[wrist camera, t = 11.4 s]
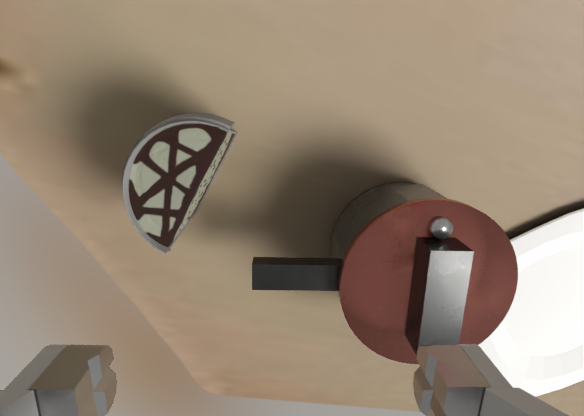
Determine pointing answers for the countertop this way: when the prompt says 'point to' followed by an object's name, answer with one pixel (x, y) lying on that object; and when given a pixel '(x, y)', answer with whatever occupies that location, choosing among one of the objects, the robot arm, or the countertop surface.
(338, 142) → the countertop surface
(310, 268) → the pot
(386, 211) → the lid
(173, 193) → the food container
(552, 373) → the plate
